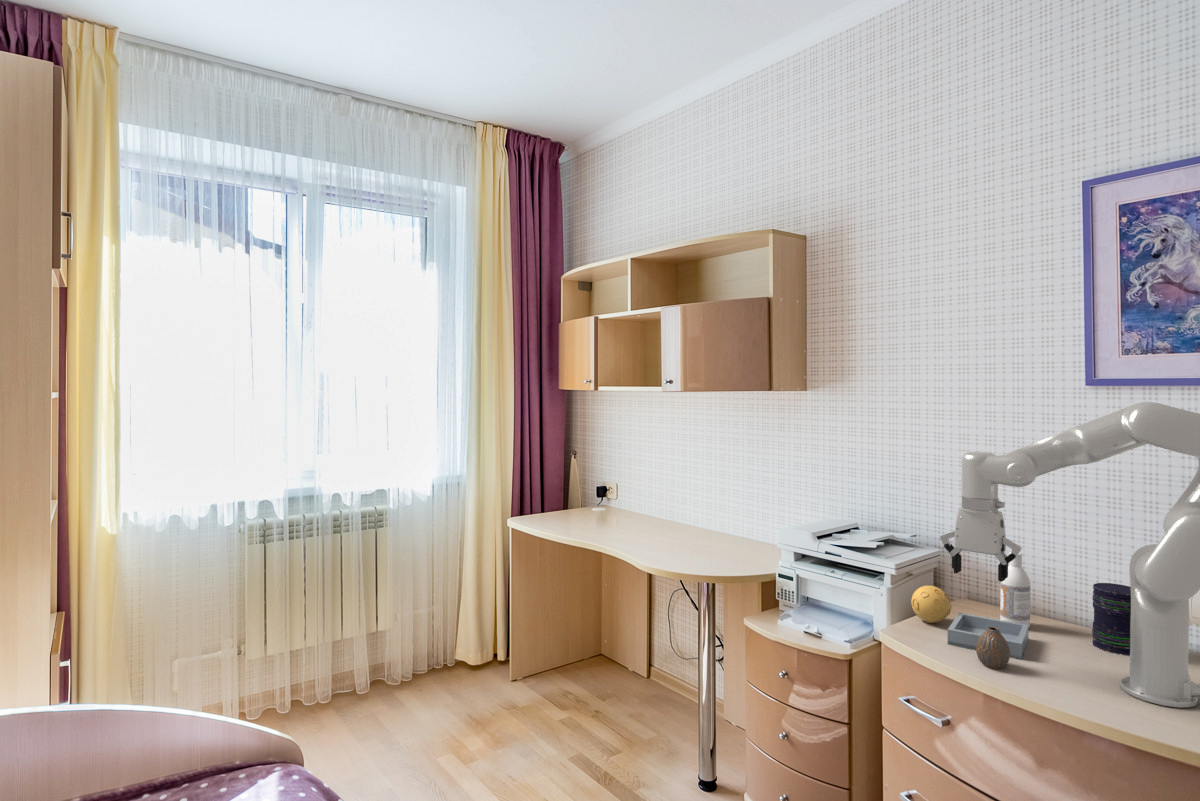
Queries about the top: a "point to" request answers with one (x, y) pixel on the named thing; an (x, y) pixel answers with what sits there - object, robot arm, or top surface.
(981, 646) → the vase
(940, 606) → the stress ball
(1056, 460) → the robot arm
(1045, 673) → the top surface
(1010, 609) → the bath foam
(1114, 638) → the storage jar
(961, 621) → the bin
